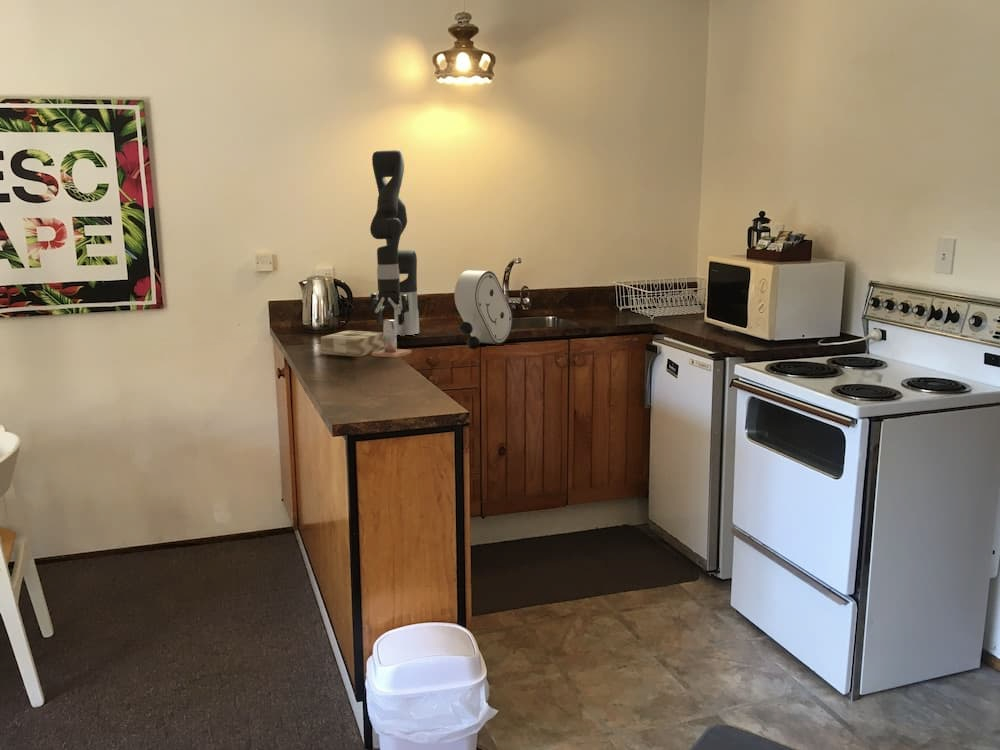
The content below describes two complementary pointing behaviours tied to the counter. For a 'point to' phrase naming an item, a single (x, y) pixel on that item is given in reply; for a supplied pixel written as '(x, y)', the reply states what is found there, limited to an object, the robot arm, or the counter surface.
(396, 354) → the coaster
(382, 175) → the robot arm
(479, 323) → the robot
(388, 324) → the light grey cylinder
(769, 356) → the counter surface
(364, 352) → the bore block
